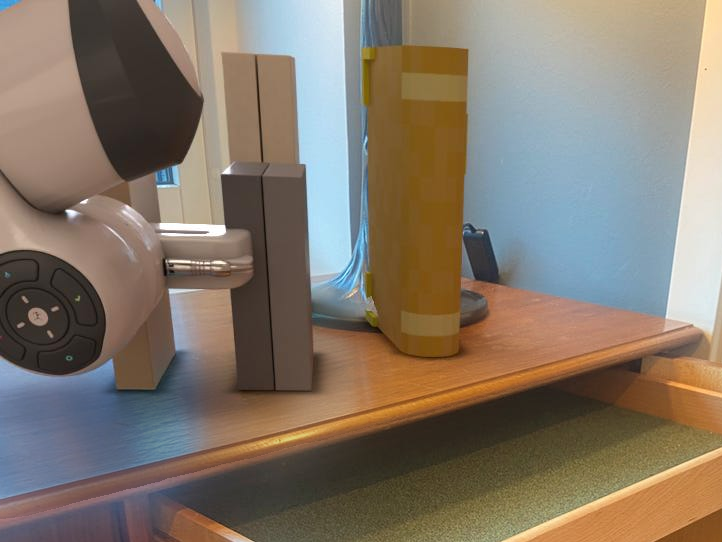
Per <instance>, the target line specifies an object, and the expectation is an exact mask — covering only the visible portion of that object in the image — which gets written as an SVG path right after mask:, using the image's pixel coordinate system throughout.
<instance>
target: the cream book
mask: <svg viewBox="0 0 722 542" xmlns="http://www.w3.org/2000/svg"><path fill="white" fill-rule="evenodd" d="M157 183H158V182H157V174H156V173H153V174H151V175H148V176H145V177H142V178H139V179H137V180H134V181H131V182H126V181H124V182H122V183H120V184H118V185H116V186H114V187H112V188H110V189H108V190H106V191H103V192H101V193H99V194H97V195H101V196H106V197H110V198H113V199H116V200H118V201H120V202H122V203H124V204H126V205H128V206H129V207H131V208H132V209H134V210H135V211H136V212H137V213H139V214H140V215H141V216H142V217H143V218H144V219H145V220H146V221H147V222H148V223H162V220H161V210H160V202H159V194H158V184H157ZM172 315H173V314H172V306H171V298H170V289H165V290H164V293H163V296H162V298H161V300H160V301H159V303H158V305H157V306H156V307H155V309H154V310H153V311H152V313H151V314H150V315H149V317H148V318H147V319H146V321H145V322H144V323H143V324H142V325H141V326H140V327H139V329H138V331H137V333H136V334H135V335H134V337H133V338H132V339H131V341H130V342H129V343H128V344H127V345H126V346H125V347H124V348H123V349H122V350H121V351H120V352H119V353H118V354H117V355H116V356H114V357H113V358H112V359H111V360H112V367H113V373H114V380H115V386H116V389H117V390H148V391H149V390H153V391H154V390H156V389H157V387H158V386H159V384H160V381H161V380H162V379H163V376H164V375H165V373H166V370H168V367H169V365H170V363H172V360H173V358H174V356H175V355H176V353H177V351H176V350H177V349H176V341H175V333H174V325H173V316H172Z"/></svg>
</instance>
